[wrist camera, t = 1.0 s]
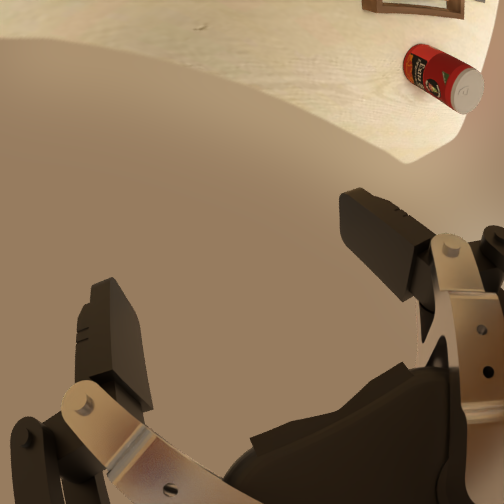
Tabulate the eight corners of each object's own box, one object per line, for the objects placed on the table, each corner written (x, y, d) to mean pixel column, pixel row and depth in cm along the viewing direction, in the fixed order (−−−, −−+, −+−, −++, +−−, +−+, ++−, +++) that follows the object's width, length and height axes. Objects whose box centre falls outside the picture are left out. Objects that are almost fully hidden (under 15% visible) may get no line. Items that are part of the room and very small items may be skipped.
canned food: (397, 51, 35) (452, 79, 28) (431, 37, 33) (484, 63, 26) (405, 90, 40) (454, 123, 34) (436, 74, 39) (484, 104, 32)
